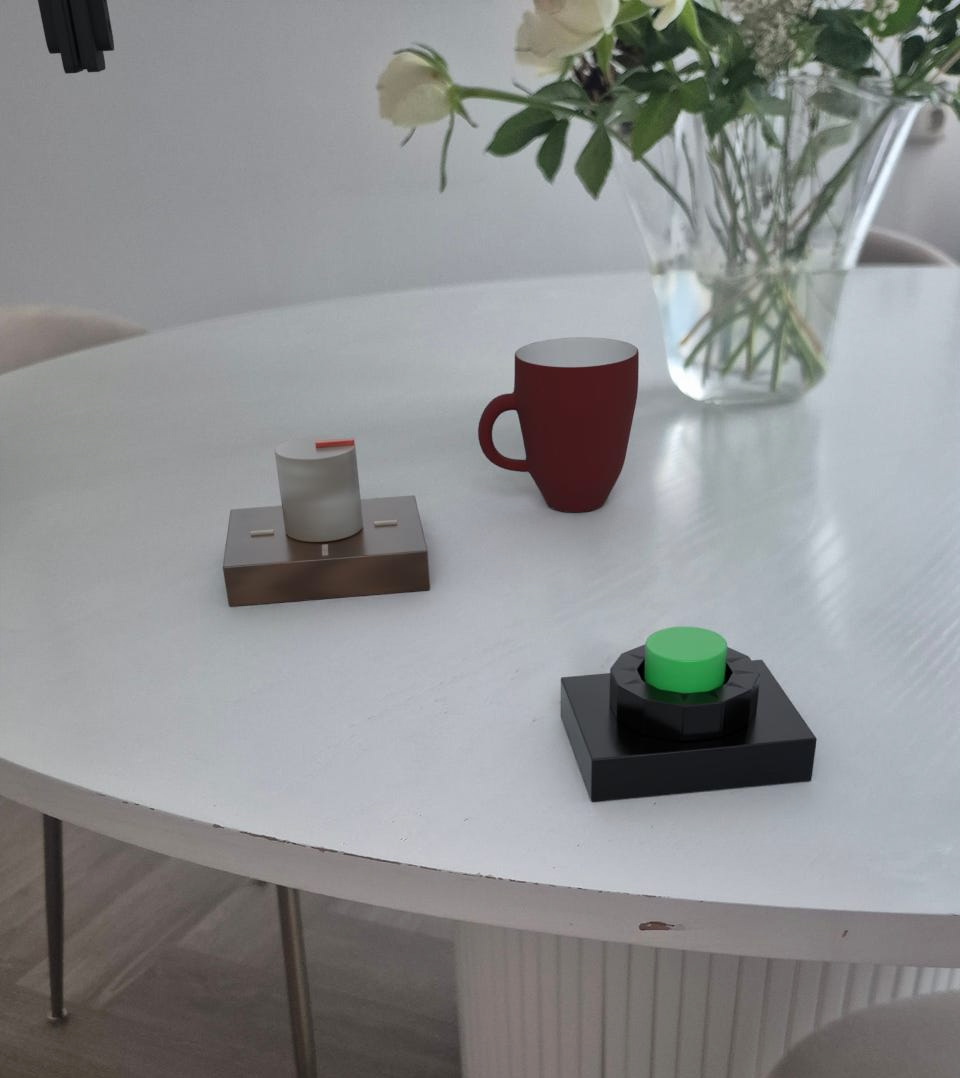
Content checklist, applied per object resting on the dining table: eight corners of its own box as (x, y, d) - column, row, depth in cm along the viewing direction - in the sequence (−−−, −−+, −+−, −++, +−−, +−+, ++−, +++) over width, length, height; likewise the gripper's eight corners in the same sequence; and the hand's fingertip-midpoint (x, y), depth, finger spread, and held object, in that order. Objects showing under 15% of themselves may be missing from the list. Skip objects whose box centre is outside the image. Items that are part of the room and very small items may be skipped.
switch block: (591, 802, 55) (592, 723, 53) (560, 716, 62) (560, 642, 60) (811, 781, 56) (822, 701, 54) (758, 698, 63) (765, 624, 60)
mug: (493, 532, 83) (487, 375, 77) (473, 493, 90) (467, 345, 84) (648, 517, 84) (654, 361, 79) (618, 479, 91) (621, 333, 85)
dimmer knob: (284, 545, 76) (273, 456, 73) (285, 517, 80) (274, 432, 76) (364, 538, 76) (356, 450, 73) (361, 511, 80) (353, 427, 77)
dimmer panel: (228, 607, 75) (221, 564, 73) (235, 546, 83) (229, 506, 81) (430, 590, 76) (427, 547, 74) (417, 531, 84) (414, 492, 82)
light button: (654, 700, 55) (655, 664, 54) (636, 664, 58) (637, 629, 57) (734, 692, 56) (737, 656, 55) (712, 657, 59) (714, 622, 58)
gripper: (-235, -486, 47) (-91, 84, 58) (166, -493, 49) (236, 67, 59) (-174, -431, 54) (-54, 75, 64) (181, -439, 55) (242, 60, 65)
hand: (85, 70), depth 61 cm, fingers closed
